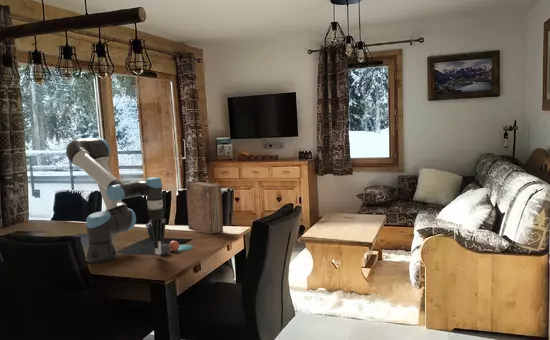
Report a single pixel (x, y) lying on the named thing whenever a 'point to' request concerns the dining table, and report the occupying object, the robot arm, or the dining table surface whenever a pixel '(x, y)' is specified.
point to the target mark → (184, 248)
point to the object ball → (174, 245)
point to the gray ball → (165, 249)
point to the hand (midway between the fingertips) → (158, 253)
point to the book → (204, 207)
